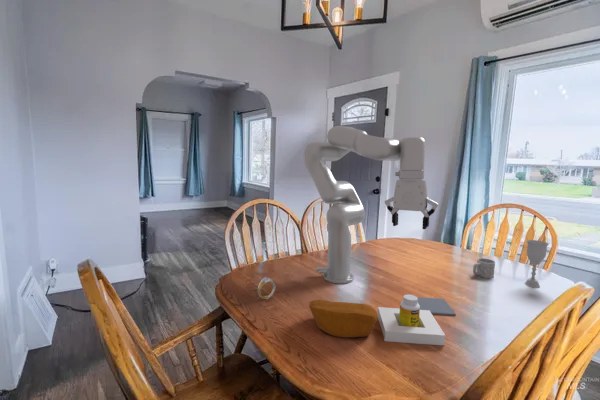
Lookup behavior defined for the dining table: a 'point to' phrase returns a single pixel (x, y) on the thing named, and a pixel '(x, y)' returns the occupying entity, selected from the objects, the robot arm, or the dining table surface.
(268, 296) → the ring
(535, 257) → the chalice
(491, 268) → the mug
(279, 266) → the dining table surface
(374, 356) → the dining table surface
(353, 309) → the bread
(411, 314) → the supplement bottle
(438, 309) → the slate mat
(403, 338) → the pocket block
